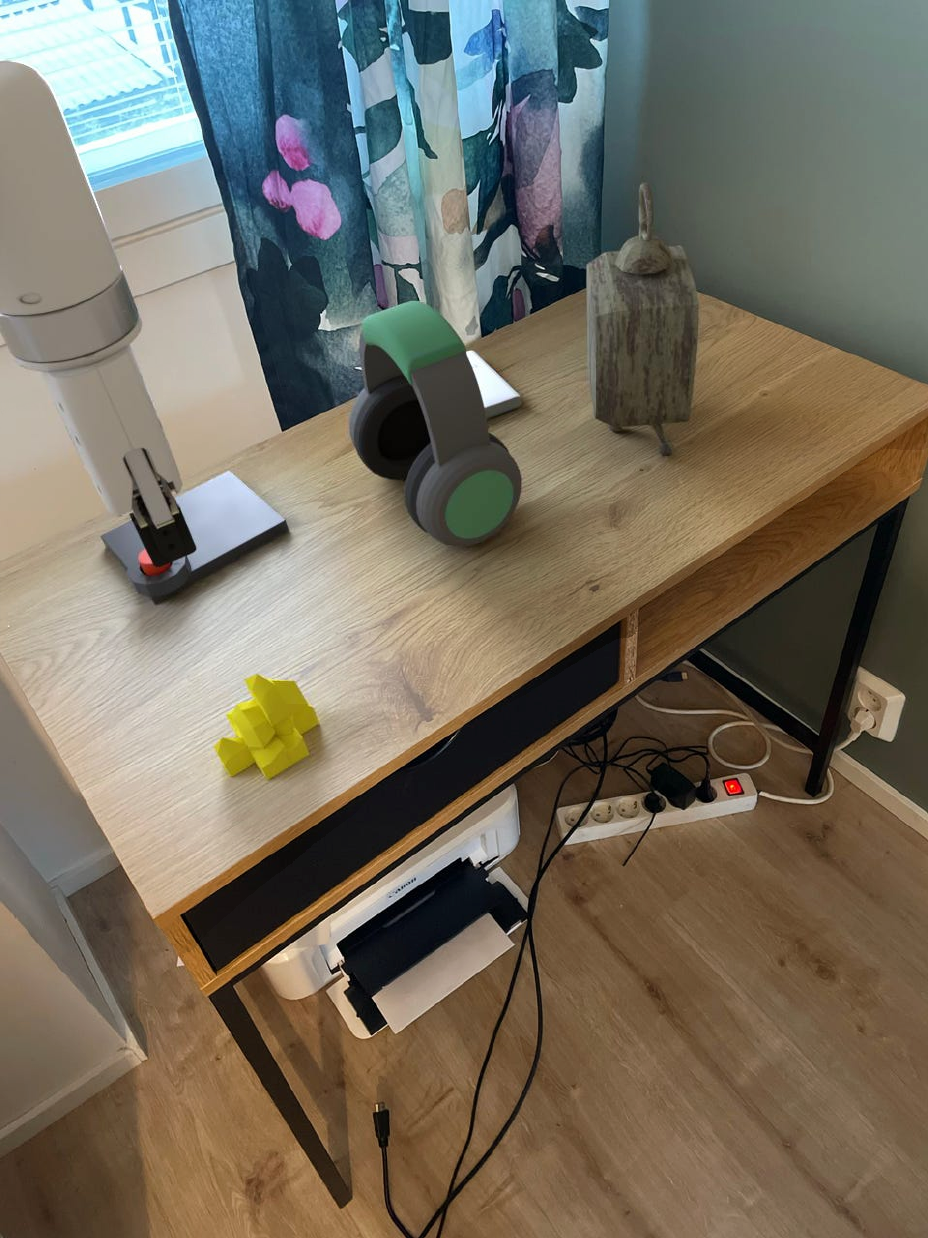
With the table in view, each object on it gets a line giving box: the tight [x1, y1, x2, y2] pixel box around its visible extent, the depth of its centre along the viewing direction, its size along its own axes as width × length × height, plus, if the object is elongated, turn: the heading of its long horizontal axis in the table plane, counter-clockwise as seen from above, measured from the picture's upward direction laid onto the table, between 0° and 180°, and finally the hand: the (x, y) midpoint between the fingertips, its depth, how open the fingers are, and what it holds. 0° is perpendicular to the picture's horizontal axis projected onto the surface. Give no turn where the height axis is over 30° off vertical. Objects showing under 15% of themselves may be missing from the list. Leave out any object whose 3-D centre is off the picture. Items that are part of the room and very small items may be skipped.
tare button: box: [138, 549, 171, 576], centre depth 84 cm, size 3×3×2 cm
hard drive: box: [466, 350, 523, 420], centre depth 104 cm, size 2×8×12 cm
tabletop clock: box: [585, 181, 699, 457], centre depth 87 cm, size 14×9×25 cm, turn 179°
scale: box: [100, 470, 290, 605], centre depth 89 cm, size 16×13×3 cm
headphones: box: [348, 300, 523, 547], centre depth 84 cm, size 19×11×20 cm, turn 29°
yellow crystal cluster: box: [213, 673, 320, 781], centre depth 69 cm, size 6×8×8 cm
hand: (173, 553), depth 64 cm, fingers closed
